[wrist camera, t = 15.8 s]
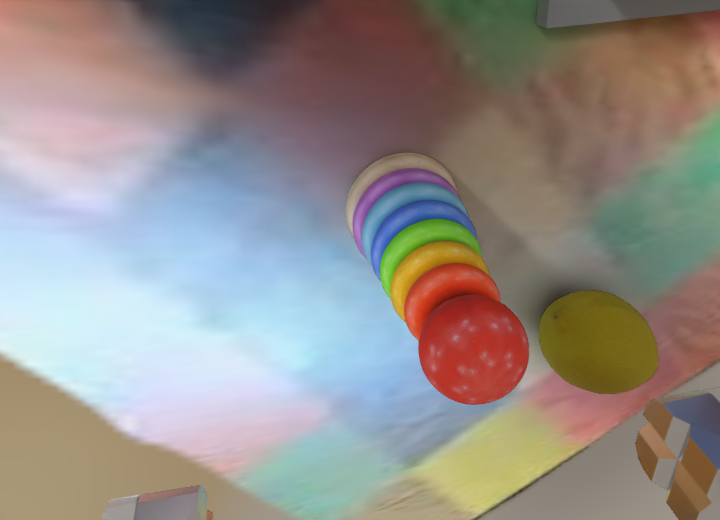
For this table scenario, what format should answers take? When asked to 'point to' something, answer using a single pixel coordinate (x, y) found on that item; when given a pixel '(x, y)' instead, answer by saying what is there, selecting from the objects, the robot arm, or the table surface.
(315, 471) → the table surface
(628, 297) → the table surface
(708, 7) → the rod stand
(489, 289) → the stacking toy
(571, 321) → the lemon
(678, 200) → the table surface
